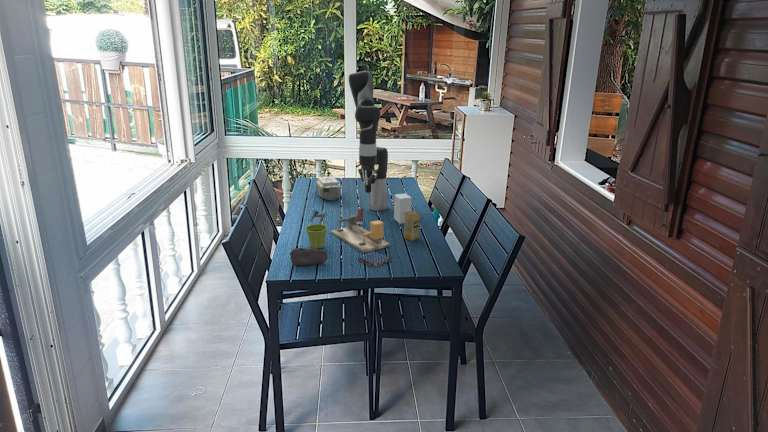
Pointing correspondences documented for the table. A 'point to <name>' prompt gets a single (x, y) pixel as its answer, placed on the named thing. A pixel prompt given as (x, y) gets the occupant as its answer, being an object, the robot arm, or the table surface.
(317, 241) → the plant pot
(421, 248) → the table surface
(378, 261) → the woven mat
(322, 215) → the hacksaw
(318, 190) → the grey lidded box
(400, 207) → the small box
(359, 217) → the hand axe
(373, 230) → the block
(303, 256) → the perforated stone tool
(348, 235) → the board
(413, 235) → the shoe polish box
